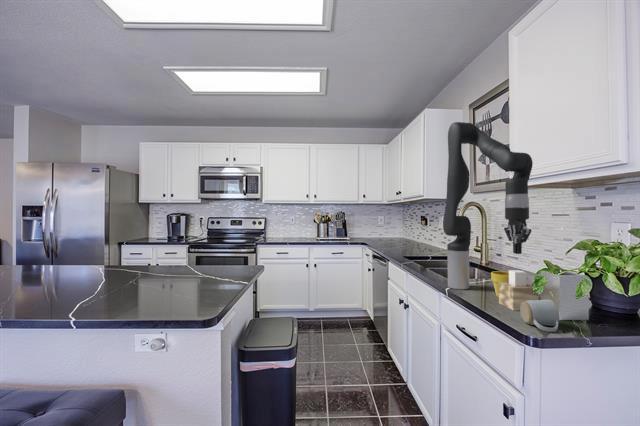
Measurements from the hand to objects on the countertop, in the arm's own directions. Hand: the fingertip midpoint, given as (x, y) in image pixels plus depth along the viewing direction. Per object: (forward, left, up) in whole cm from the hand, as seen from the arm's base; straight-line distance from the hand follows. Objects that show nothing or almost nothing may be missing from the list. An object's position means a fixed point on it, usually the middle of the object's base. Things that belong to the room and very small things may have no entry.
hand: (517, 253), depth 115 cm
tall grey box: (+10, +9, -20) cm, 24 cm away
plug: (0, 0, -16) cm, 16 cm away
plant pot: (-13, +3, -20) cm, 24 cm away
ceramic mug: (+19, -5, -20) cm, 28 cm away
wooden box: (0, 0, -20) cm, 20 cm away
